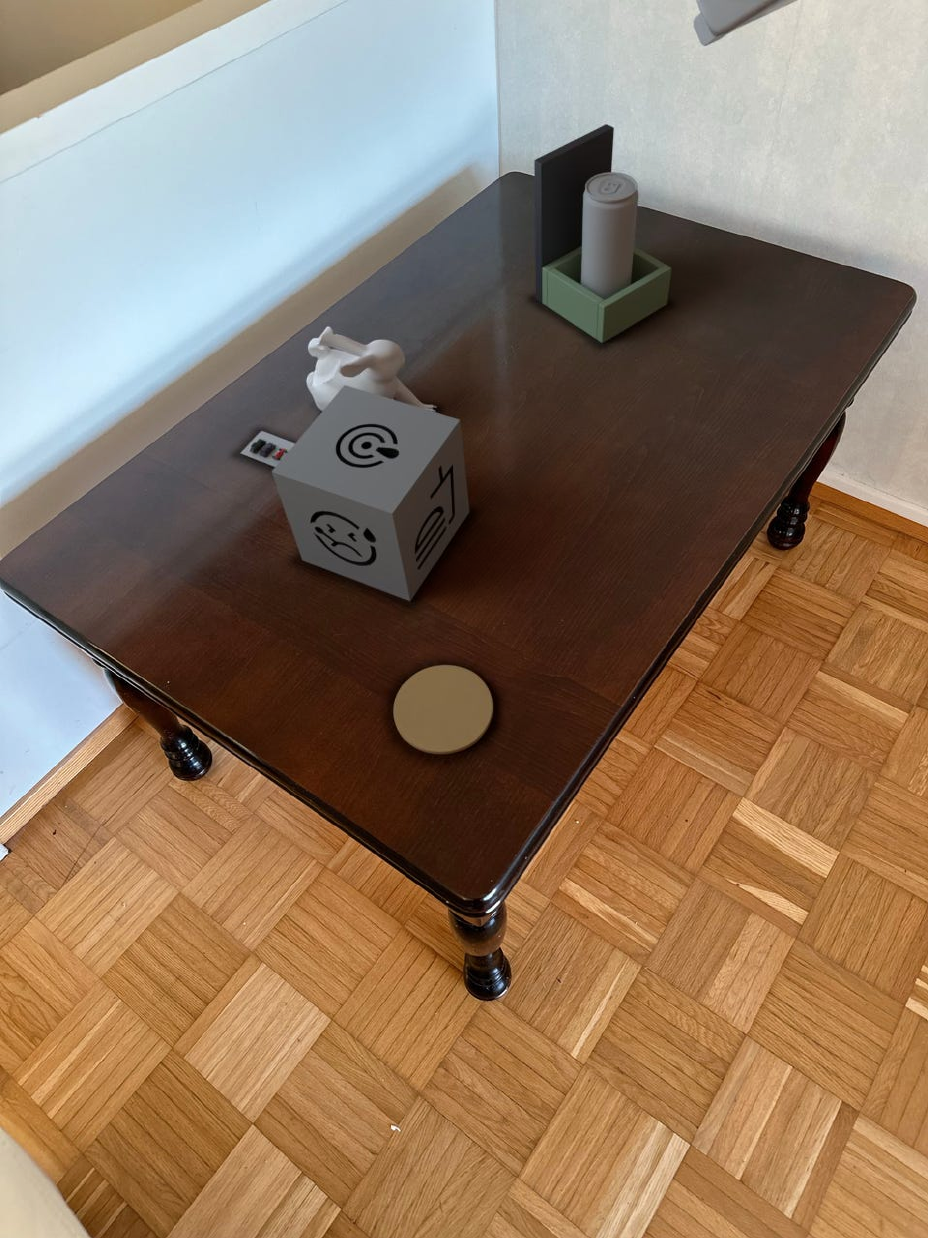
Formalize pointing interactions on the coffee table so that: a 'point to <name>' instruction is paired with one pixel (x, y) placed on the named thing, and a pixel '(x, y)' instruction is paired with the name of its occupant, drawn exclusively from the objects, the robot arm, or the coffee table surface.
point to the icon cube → (375, 490)
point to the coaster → (443, 709)
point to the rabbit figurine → (357, 369)
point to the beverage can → (608, 233)
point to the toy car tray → (268, 448)
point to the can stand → (562, 243)
